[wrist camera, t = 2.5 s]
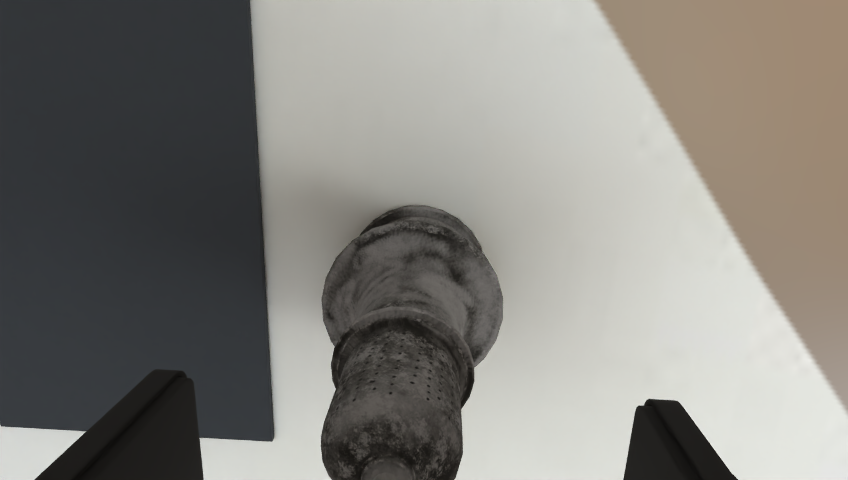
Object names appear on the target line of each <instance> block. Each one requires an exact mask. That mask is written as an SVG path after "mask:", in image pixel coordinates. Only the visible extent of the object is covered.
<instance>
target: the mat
mask: <svg viewBox="0 0 848 480" xmlns="http://www.w3.org/2000/svg"><path fill="white" fill-rule="evenodd" d="M154 369H165V370H181V371H184V372H185V374H186V375H187V378H191V379H192V380H193V382H194V388H195V398H196V408H197V419H198V429H199V437H200V438H218V439H235V440H253V441H271V442H272V441H273V439H274V426H273V408H272V390H271V372H270V354H269V337H268V319H267V301H266V283H265V265H264V248H263V230H262V212H261V194H260V176H259V159H258V141H257V123H256V105H255V87H254V70H253V52H252V34H251V16H250V0H0V424H1V426H5V427H23V428H40V429H58V430H76V431H88V430H89V429H90V428H91V427H92V426H93V425H94V424H95V423H96V422H97V421H98V420H99V419H101V418H102V417H103V416H104V415H105V414H106V413H107V412H108V411H109V410H110V409H111V408H112V407H114V406H115V405H116V404H117V403H118V402H119V401H120V400H121V399H122V398H123V397H124V396H125V395H126V394H128V393H129V392H130V391H131V390H132V389H133V388H134V387H135V386H136V385H137V384H138V383H139V382H140V381H142V380H143V379H144V378H145V377H146V376H147V375H148V374H149V373H150V372H151V371H153V370H154Z"/></svg>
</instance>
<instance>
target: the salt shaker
mask: <svg viewBox="0 0 848 480" xmlns="http://www.w3.org/2000/svg"><path fill="white" fill-rule="evenodd" d="M322 310H323V321H324V324H325V326H326V329H327V332H328V334H329V337H330V340H331V342H332V343H333V345H334V346H335V348H334V352H333V357H332V362H331V369H332V379H333V383H334V385H335V388H336V391H335V393H334V396H333V399H332V402H331V404H330V407H329V410H328V413H327V416H326V418H325V421H324V426H323V430H322V435H321V451H322V460H323V463H324V466H325V468H326V470H327V473H328V475H329V476H330V478H331V479H332V480H454V479H455V478H456V475H457V471H458V468H459V465H460V461H461V458H462V454H463V441H462V419H461V409H462V407H463V406H464V404H465V403H466V401H467V400H468V398H469V397H470V394H471V390H472V387H473V384H474V367H475V366H477V365H478V364H479V363H480V362H481V361H482V360H483V359H484V358H485V357H486V355H487V354H488V352H489V350H490V349H491V347H492V346H493V344H494V343H495V341H496V339H497V336H498V332H499V329H500V326H501V323H502V318H503V296H502V293H501V289H500V285H499V282H498V278H497V275H496V273H495V271H494V270H493V268H492V266H491V265H490V263H489V261H488V260H487V258H486V257H485V255H484V254H483V253H482V249H481V246H480V244H479V243H478V241H477V239H476V238H475V236H474V234H473V233H472V231H471V230H470V229H469V228H468V227H467V226H465V225H464V224H463V223H462V222H461V221H460V220H459V219H458V218H456V217H454V216H452V215H450V214H449V213H447V212H445V211H443V210H439V209H435V208H431V207H427V206H405V207H402V208H398V209H395V210H391V211H388V212H386V213H385V214H383V215H381V216H380V217H378V218H376V219H375V220H373V221H372V222H371V223H370V224H369V225H368V226H367V228H366V229H365V230H364V231H363V232H362V233H361V234H360V236H359V237H357V238H356V239H354V240H352V242H351V243H350V244H349V245H348V246H347V247H346V248H345V249H344V250H343V251H342V252H341V253H340V254H339V255H338V256H337V257H336V259H335V261H334V263H333V265H332V267H331V269H330V271H329V273H328V275H327V277H326V279H325V285H324V290H323V295H322Z"/></svg>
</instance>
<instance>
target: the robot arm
mask: <svg viewBox="0 0 848 480" xmlns="http://www.w3.org/2000/svg"><path fill="white" fill-rule="evenodd" d="M35 480H203V469H202V459H201V449H200V439H199V429H198V419H197V408H196V398H195V388H194V382H193V380H192V379H191V378H187V375H186V374H185V372H184V371H181V370H165V369H154V370H153V371H151V372H150V373H149V374H148V375H147V376H146V377H145V378H144V379H143V380H142V381H140V382H139V383H138V384H137V385H136V386H135V387H134V388H133V389H132V390H131V391H130V392H129V393H128V394H126V395H125V396H124V397H123V398H122V399H121V400H120V401H119V402H118V403H117V404H116V405H115V406H114V407H112V408H111V409H110V410H109V411H108V412H107V413H106V414H105V415H104V416H103V417H102V418H101V419H99V420H98V421H97V422H96V423H95V424H94V425H93V426H92V427H91V428H90V429H89V430H88V431H87V432H85V433H84V434H83V435H82V436H81V437H80V438H79V439H78V440H77V441H76V442H75V443H74V444H72V445H71V446H70V447H69V448H68V449H67V450H66V451H65V452H64V453H63V454H62V455H61V456H60V457H58V458H57V459H56V460H55V461H54V462H53V463H52V464H51V465H50V466H49V467H48V468H47V469H46V470H44V471H43V472H42V473H41V474H40V475H39V476H38V477H37V478H36V479H35ZM624 480H738V479H737V478H736V477H735V476H734V475H733V474H732V473H731V472H730V471H729V469H728V468H727V466H726V465H725V464H724V462H723V461H722V460H721V458H720V457H719V456H718V454H717V453H716V451H715V450H714V449H713V447H712V446H711V445H710V443H709V442H708V441H707V439H706V438H705V436H704V435H703V434H702V432H701V431H700V430H699V428H698V427H697V426H696V424H695V423H694V421H693V420H692V419H691V417H690V416H689V415H688V413H687V412H686V411H685V409H684V408H683V406H682V405H681V404H680V403H679V402H678V401H673V400H657V399H648V400H646V402H645V404H644V406H638V407H637V408H636V411H635V416H634V422H633V428H632V434H631V439H630V445H629V451H628V457H627V463H626V469H625V474H624Z"/></svg>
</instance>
